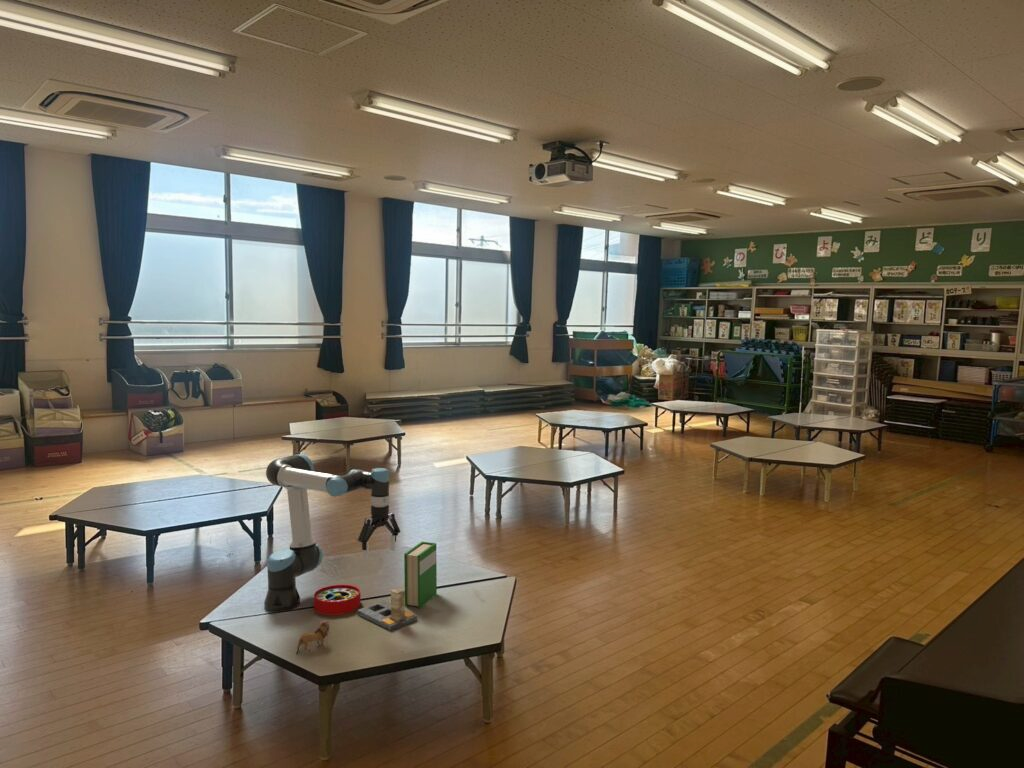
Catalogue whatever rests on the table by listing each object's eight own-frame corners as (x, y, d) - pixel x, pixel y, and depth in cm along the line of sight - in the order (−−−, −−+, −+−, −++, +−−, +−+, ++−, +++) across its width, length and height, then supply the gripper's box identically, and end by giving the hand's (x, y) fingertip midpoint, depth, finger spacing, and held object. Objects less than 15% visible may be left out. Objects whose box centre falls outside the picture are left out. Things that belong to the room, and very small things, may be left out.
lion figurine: (324, 639, 273) (324, 617, 272) (333, 643, 269) (332, 621, 269) (292, 653, 261) (291, 630, 261) (300, 657, 258) (299, 634, 257)
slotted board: (390, 631, 281) (390, 625, 280) (357, 614, 296) (357, 609, 296) (417, 620, 291) (417, 615, 291) (384, 604, 306) (383, 599, 306)
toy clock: (369, 589, 310) (340, 605, 292) (369, 601, 311) (340, 618, 293) (334, 581, 319) (304, 597, 301) (334, 594, 319) (304, 610, 301)
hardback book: (419, 608, 303) (419, 555, 301) (404, 606, 305) (404, 553, 303) (436, 593, 320) (436, 543, 317) (422, 591, 322) (421, 541, 320)
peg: (397, 625, 286) (396, 593, 284) (391, 622, 288) (390, 590, 287) (404, 622, 289) (404, 590, 287) (398, 619, 291) (398, 587, 290)
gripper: (360, 512, 281) (359, 562, 283) (408, 501, 299) (408, 548, 302) (349, 508, 286) (349, 557, 289) (398, 498, 304) (397, 544, 307)
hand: (379, 553), depth 295 cm, fingers open, 13 cm apart
